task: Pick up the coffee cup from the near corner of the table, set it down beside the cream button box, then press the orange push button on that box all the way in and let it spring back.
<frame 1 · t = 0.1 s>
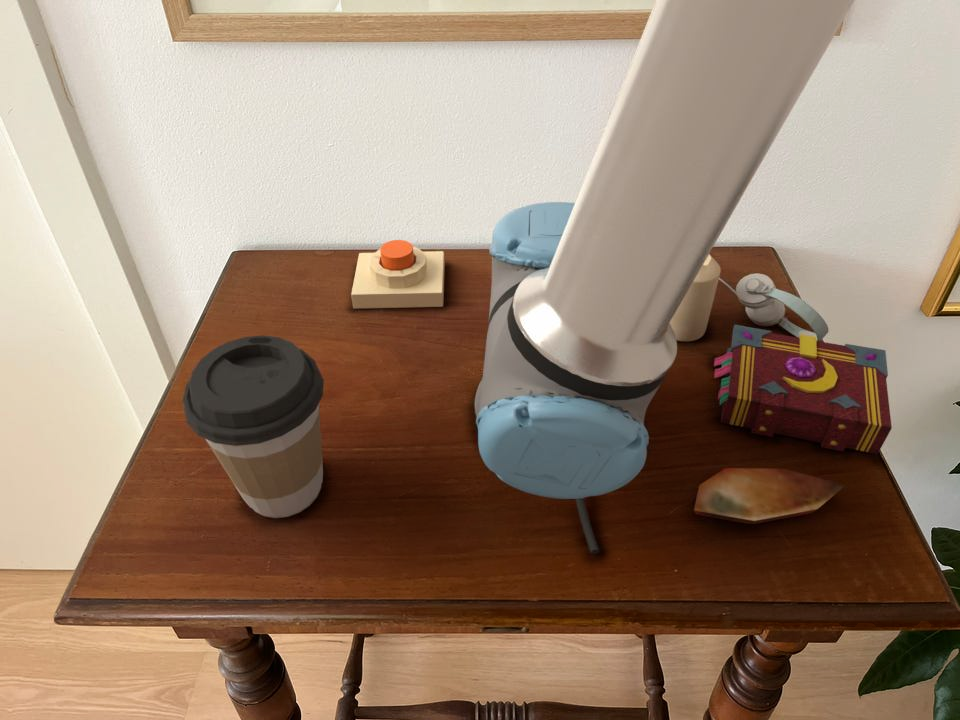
button box: (400, 286, 92), on the table
button: (397, 255, 89), point 5 cm above the table, slide at 0.1 cm
decorative stone: (772, 485, 64), point 3 cm above the table
coffee cup: (284, 488, 69), on the table
headphones: (686, 263, 92), point 2 cm above the table
decorative book: (790, 403, 76), on the table
candle: (681, 328, 85), on the table
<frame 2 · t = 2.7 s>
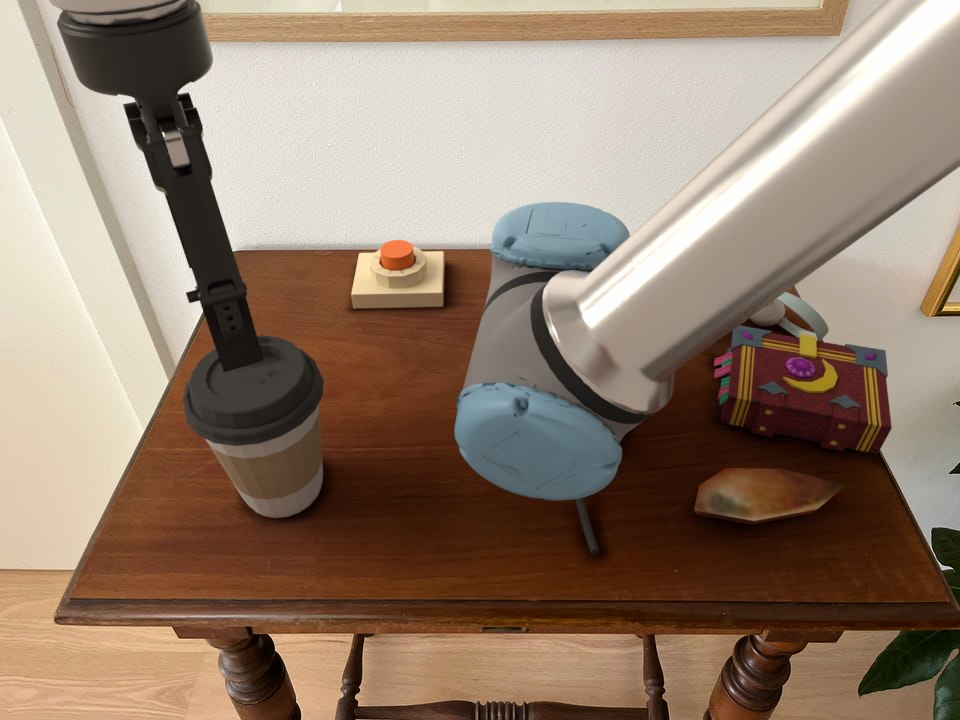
hand: (223, 308, 54), 22 cm above the table, tool pointing down, fingers open, 13 cm apart
nothing on the table moved.
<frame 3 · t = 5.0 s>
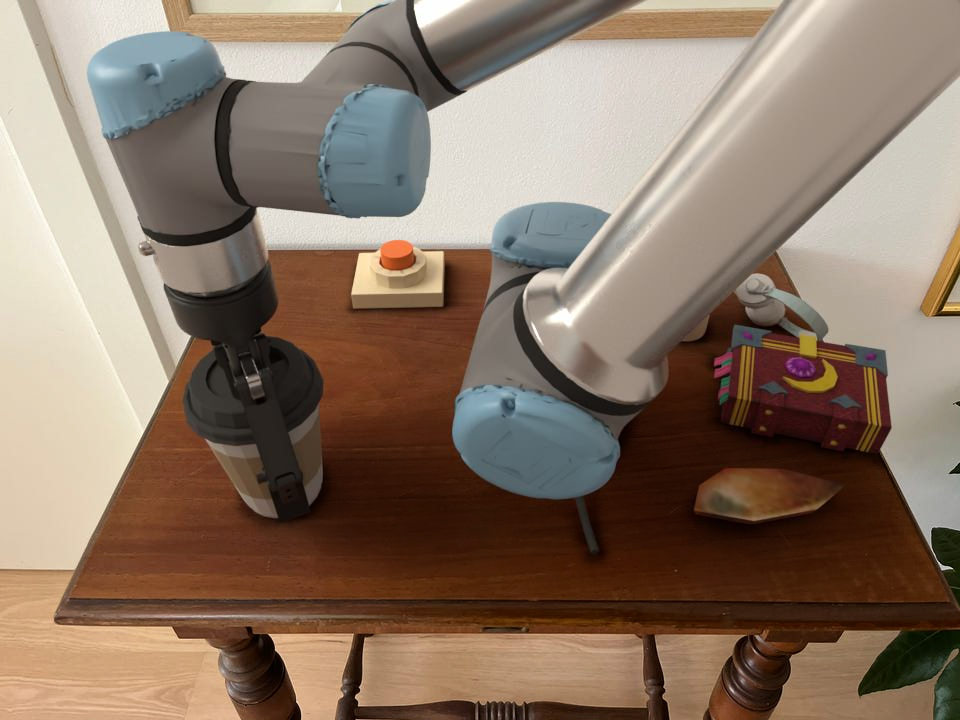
hand: (277, 466, 66), 3 cm above the table, tool pointing down, fingers closed on coffee cup, 11 cm apart
coffee cup: (284, 488, 69), on the table, touching gripper
everything else where it was.
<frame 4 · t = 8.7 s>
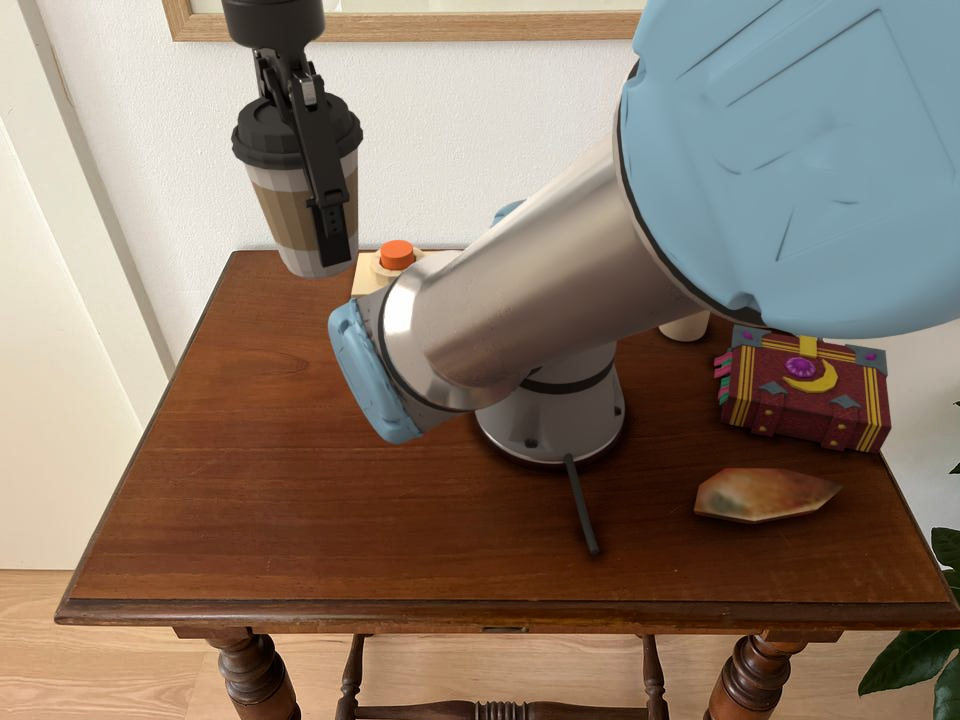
hand: (316, 230, 69), 17 cm above the table, tool pointing down, fingers closed on coffee cup, 11 cm apart
coffee cup: (322, 259, 72), point 14 cm above the table, touching gripper
everything else where it was.
when the fingers open (3 cm above the table, at t = 12.5 s): coffee cup stays where it is, on the table.
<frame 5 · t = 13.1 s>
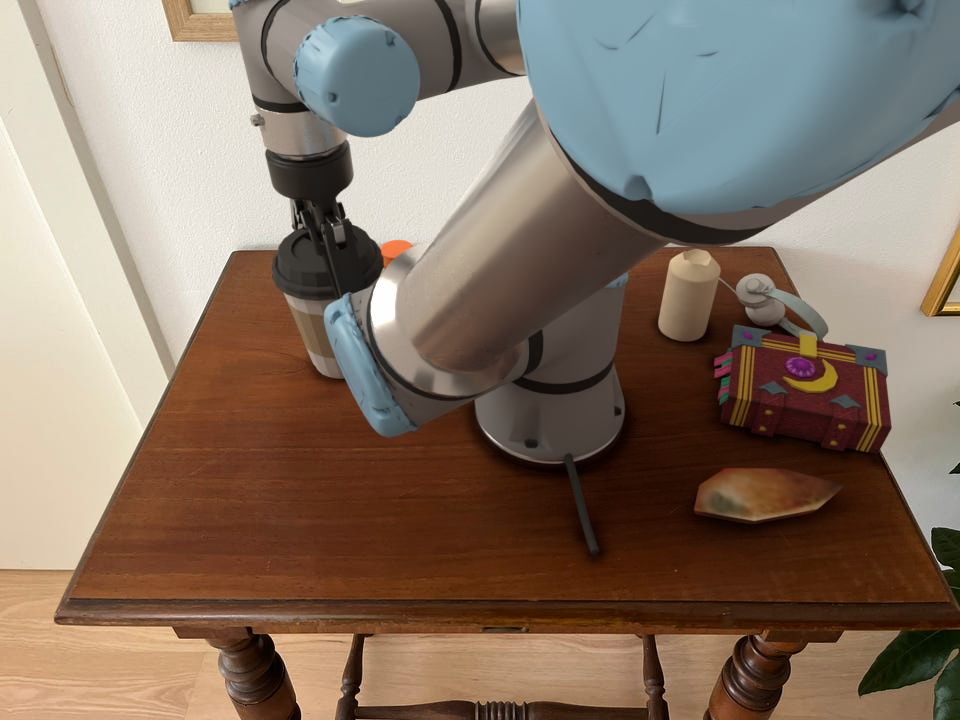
hand: (341, 327, 79), 5 cm above the table, tool pointing down, fingers open, 13 cm apart
coffee cup: (345, 358, 82), on the table
everything else where it was.
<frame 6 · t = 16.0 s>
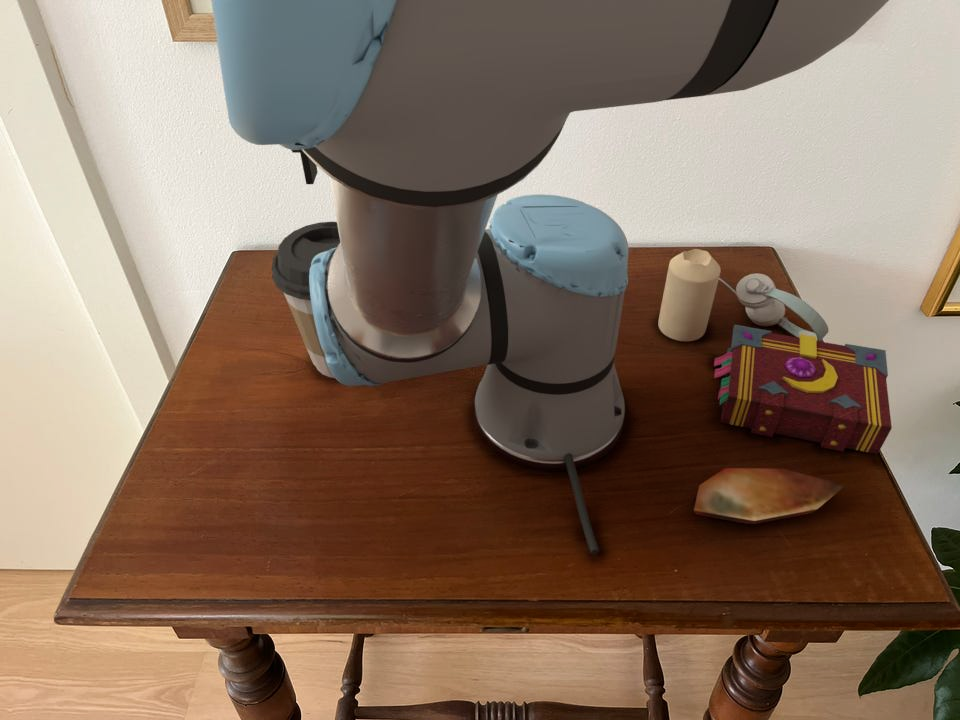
hand: (374, 178, 79), 17 cm above the table, tool pointing down, fingers open, 13 cm apart
nothing on the table moved.
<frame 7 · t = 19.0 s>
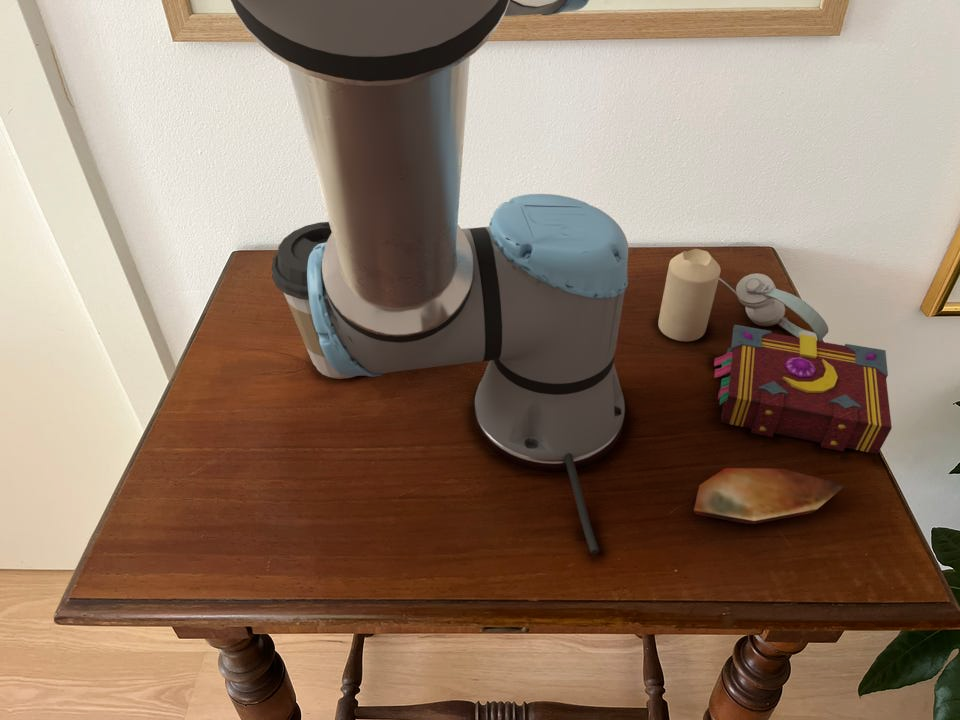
hand: (396, 250, 89), 5 cm above the table, tool pointing down, fingers closed
button: (397, 259, 89), point 4 cm above the table, slide at -0.5 cm, touching gripper
everything else where it was.
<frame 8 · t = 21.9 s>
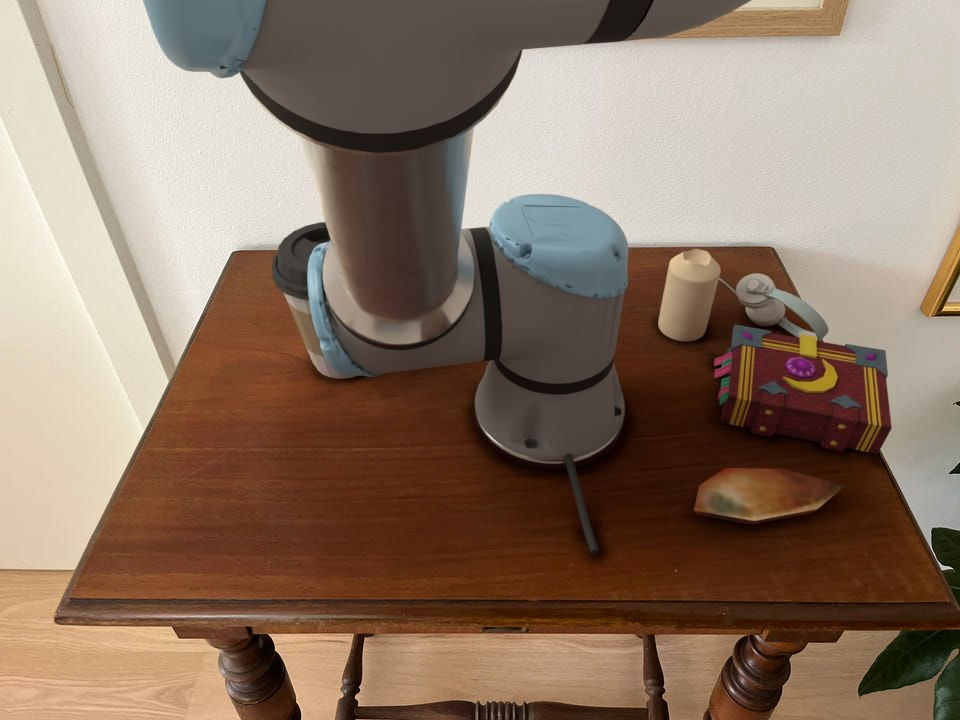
hand: (386, 150, 80), 18 cm above the table, tool pointing down, fingers closed
button: (397, 255, 89), point 5 cm above the table, slide at 0.1 cm
everything else where it was.
at the end: coffee cup inside the target area (0.1 cm from its centre), on the table; button pushed in 1.0 cm at the most during the clip, back to where it started at the end; button slide at 0.1 cm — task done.
